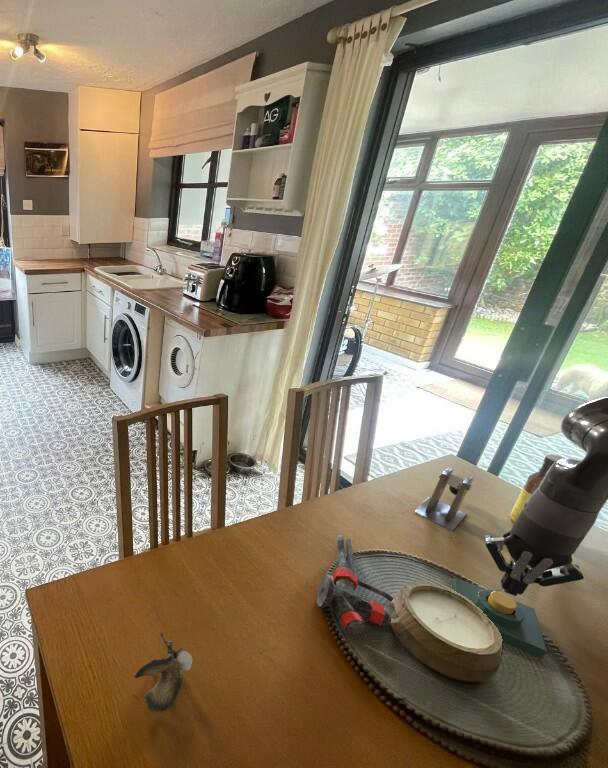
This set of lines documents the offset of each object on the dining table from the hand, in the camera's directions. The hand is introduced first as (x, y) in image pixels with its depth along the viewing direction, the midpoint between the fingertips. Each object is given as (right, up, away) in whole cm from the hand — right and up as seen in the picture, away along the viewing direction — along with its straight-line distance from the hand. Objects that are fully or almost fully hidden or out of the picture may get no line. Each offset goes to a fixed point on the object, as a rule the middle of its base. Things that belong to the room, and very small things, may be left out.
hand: (509, 590), depth 75 cm
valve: (-23, -4, +9) cm, 25 cm away
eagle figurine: (-65, -11, -7) cm, 67 cm away
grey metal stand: (+11, +5, +29) cm, 31 cm away
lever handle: (+14, +11, +28) cm, 33 cm away
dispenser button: (0, -4, +2) cm, 4 cm away
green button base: (0, -7, +3) cm, 8 cm away
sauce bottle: (+29, +3, +26) cm, 39 cm away
